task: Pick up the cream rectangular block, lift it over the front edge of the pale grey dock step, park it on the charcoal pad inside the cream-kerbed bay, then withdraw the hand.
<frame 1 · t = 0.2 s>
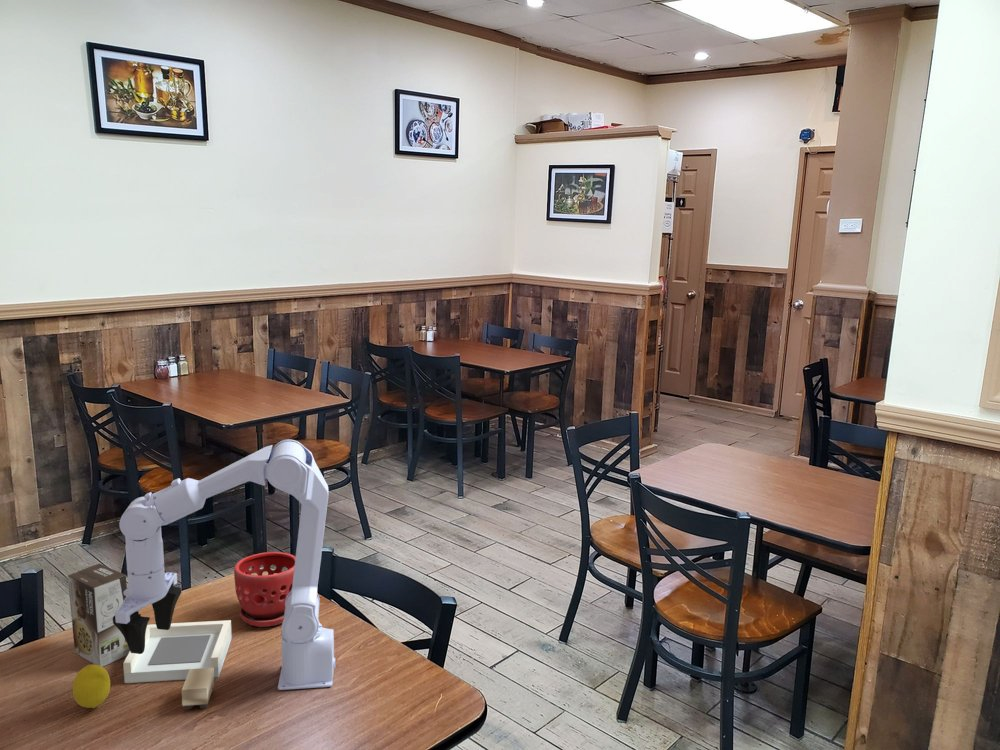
hand: (150, 640, 129), 10 cm above the table, tool pointing down, fingers open, 7 cm apart
cream rectangular block: (199, 700, 129), on the table
plant pot: (268, 616, 157), on the table
coffee box: (103, 653, 142), on the table
dock: (181, 659, 140), on the table
lemon: (93, 708, 126), on the table
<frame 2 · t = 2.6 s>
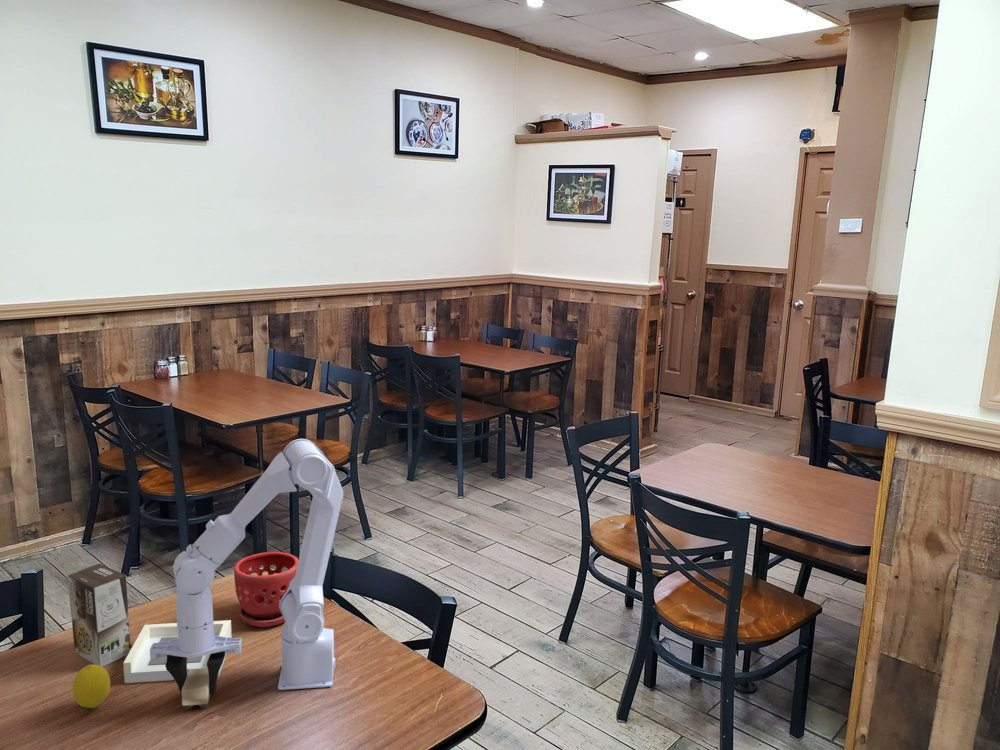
hand: (198, 691, 128), 2 cm above the table, tool pointing down, fingers closed on cream rectangular block, 4 cm apart
cream rectangular block: (199, 700, 129), on the table, touching gripper
everything else where it was.
when the fingers open (5 cm above the table, at t = 7.3 s): cream rectangular block stays where it is, resting on dock.
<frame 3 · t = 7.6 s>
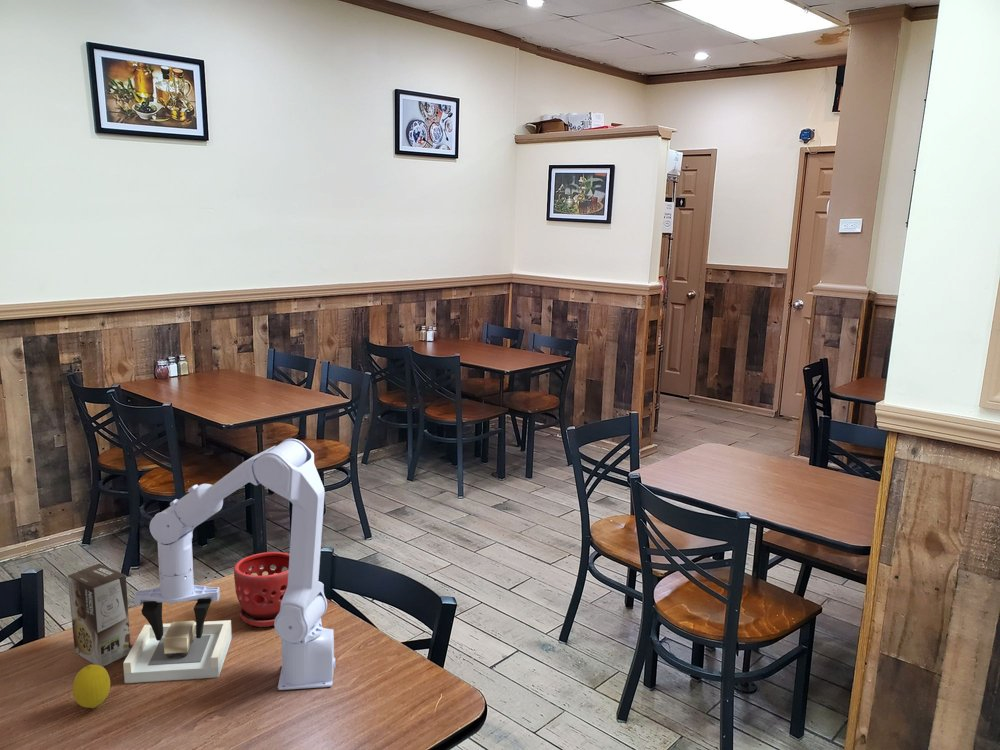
hand: (179, 636, 139), 5 cm above the table, tool pointing down, fingers open, 6 cm apart
cream rectangular block: (180, 649, 140), point 2 cm above the table, touching dock
everything else where it was.
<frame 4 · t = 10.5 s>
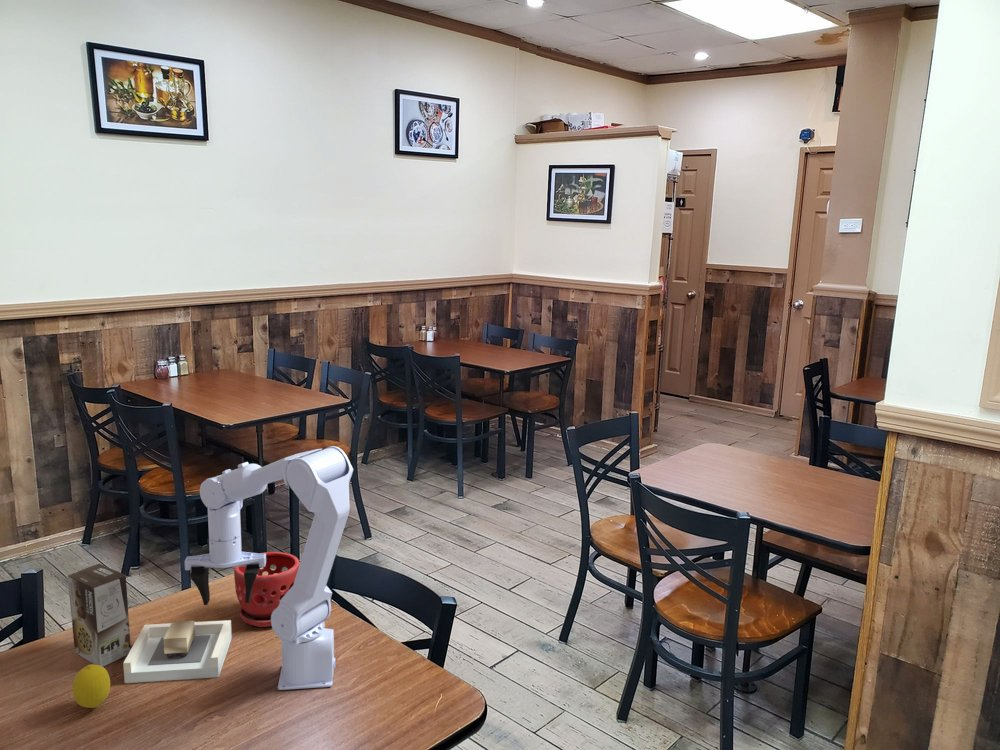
hand: (227, 601, 144), 9 cm above the table, tool pointing down, fingers open, 7 cm apart
nothing on the table moved.
at the end: cream rectangular block inside the target area on the dock (0.0 cm from its centre), point 2.2 cm above the dock's base; cream rectangular block tilted 0°; the gripper is holding nothing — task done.
